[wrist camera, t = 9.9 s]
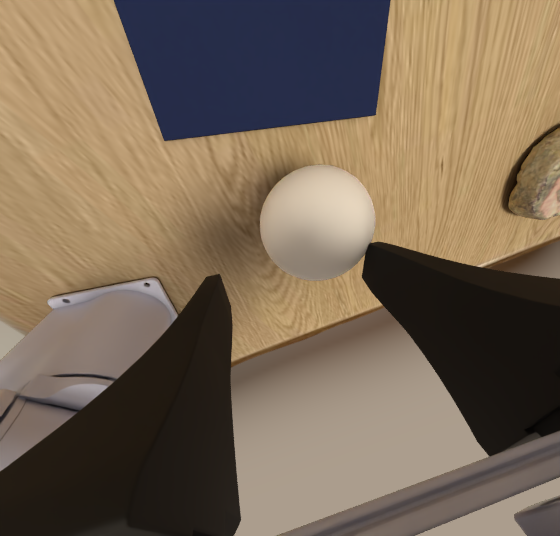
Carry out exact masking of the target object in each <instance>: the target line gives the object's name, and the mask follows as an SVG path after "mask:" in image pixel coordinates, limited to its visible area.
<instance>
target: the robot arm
mask: <svg viewBox="0 0 560 536" xmlns="http://www.w3.org/2000/svg"><path fill="white" fill-rule="evenodd" d="M362 278H363V280H364V281H365V283H366V284H367V286H368V287H369V289H370V290H371V292H372V293H373V294H374V295H375V297H376V298H377V299H378V300H379V301H380V302H381V303H382V304H383V306H384V307H385V308H386V309H387V310H388V311H389V312H390V313H391V314H392V316H393V317H394V318H395V319H396V320H397V321H398V322H399V323H400V324H401V325H402V326H403V328H404V329H405V330H406V331H407V333H408V334H409V335H410V336H411V338H412V339H413V340H414V342H415V343H416V344H417V346H418V347H419V349H420V350H421V351H422V353H423V354H424V355H425V357H426V358H427V360H428V361H429V363H430V364H431V365H432V367H433V369H434V370H435V372H436V373H437V374H438V376H439V377H440V379H441V381H442V382H443V384H444V385H445V387H446V389H447V390H448V392H449V393H450V395H451V396H452V398H453V400H454V401H455V403H456V405H457V407H458V408H459V410H460V411H461V413H462V415H463V417H464V418H465V420H466V422H467V424H468V425H469V427H470V429H471V431H472V432H473V435H474V436H475V438H476V440H477V442H478V443H479V444H480V445H481V447H482V448H483V449H484V450H485V452H486V453H487V454H488V455H489V456H490V457H488V458H485V459H482V460H479V461H477V462H474V463H471V464H469V465H466V466H463V467H461V468H458V469H455V470H452V471H450V472H447V473H444V474H442V475H439V476H437V477H434V478H431V479H428V480H426V481H423V482H420V483H417V484H415V485H412V486H409V487H407V488H404V489H401V490H398V491H396V492H393V493H391V494H388V495H385V496H382V497H380V498H377V499H374V500H372V501H369V502H366V503H363V504H361V505H358V506H355V507H353V508H350V509H347V510H345V511H342V512H339V513H336V514H334V515H331V516H328V517H326V518H323V519H320V520H318V521H315V522H312V523H309V524H307V525H304V526H301V527H299V528H296V529H293V530H291V531H288V532H285V533H282V534H280V535H277V536H415V535H417V534H420V533H422V532H425V531H427V530H430V529H432V528H435V527H437V526H440V525H442V524H445V523H447V522H450V521H452V520H455V519H457V518H460V517H462V516H465V515H467V514H469V513H472V512H474V511H477V510H479V509H482V508H484V507H487V506H489V505H492V504H494V503H497V502H499V501H501V500H504V499H507V498H509V497H511V496H514V495H516V494H519V493H521V492H524V491H526V490H529V489H531V488H534V487H536V486H539V485H541V484H544V483H546V482H549V481H551V480H553V479H556V478H559V477H560V279H556V278H547V277H539V276H531V275H524V274H517V273H510V272H504V271H498V270H492V269H487V268H482V267H476V266H471V265H467V264H462V263H458V262H454V261H450V260H446V259H442V258H438V257H434V256H430V255H427V254H423V253H420V252H416V251H413V250H409V249H406V248H403V247H399V246H395V245H392V244H388V243H383V242H374V243H369V245H368V248H367V250H366V253H365V260H364V267H363V273H362ZM146 283H149V284H150V285H147V284H146ZM67 299H68V300H67ZM47 303H48V305H49V306H51V307H52V308H53V310H52V311H51V312H50V313H49V314H48V315H47V316H46V317H45V318H44V319H43V320H42V321H41V322H40V323H39V324H37V325H36V326H35V327H34V328H33V329H32V330H31V331H30V332H29V333H28V334H27V335H26V336H25V337H24V338H23V339H22V340H21V341H20V342H19V343H18V344H17V345H16V346H15V347H14V348H13V349H12V350H11V351H9V353H7V354H6V355H5V356H4V357H3V358H2V359H1V360H0V536H233V535H234V534H235V532H236V530H237V528H238V526H239V523H240V521H241V516H240V506H239V495H238V484H237V473H236V461H235V448H234V437H233V436H234V435H233V420H232V404H231V386H230V385H231V384H230V372H231V350H232V313H231V305H230V302H229V299H228V296H227V293H226V290H225V287H224V284H223V282H222V279H221V276H220V274H218V275H213V276H208V277H206V278H205V280H204V281H203V282H202V284H201V285H200V287H199V288H198V290H197V291H196V292H195V294H194V295H193V297H192V298H191V300H190V301H189V302H188V304H187V305H186V306H185V308H184V309H183V310H182V312H181V313H180V314H179V315H178V314H177V312H176V311H175V309H174V307H173V305H172V303H171V302H170V300H169V298H168V296H167V294H166V293H165V291H164V289H163V287H162V285H161V284H160V282H159V280H158V279H156V278H147V279H142V280H137V281H131V282H126V283H121V284H116V285H111V286H106V287H101V288H96V289H91V290H86V291H81V292H75V293H70V294H65V295H60V296H55V297H51V298H50V299H49V300H48V301H47ZM514 518H515V521H516V522H517V523H518V524H519V526H520V527H521V528H522V530H523V531H524V533H525V534H526V535H527V536H560V496H557V497H554V498H551V499H548V500H545V501H542V502H539V503H536V504H534V505H531V506H529V507H527V508H525V509H523V510H521V511H519V512H517V513H516V514H514Z"/></svg>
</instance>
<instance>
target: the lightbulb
mask: <svg viewBox="0 0 560 536" xmlns="http://www.w3.org/2000/svg"><path fill="white" fill-rule="evenodd" d="M374 229H375V211H374V207H373V203H372V200H371V197H370V196H369V194H368V192H367V190H366V189H365V187H364V186H363V184H362V183H361V182H360V181H359V180H358V179H357V178H356V177H355V176H353V175H352V174H350V173H348V172H347V171H345V170H343V169H341V168H338V167H335V166H332V165H321V164H318V165H311V166H306V167H303V168H300V169H297V170H295V171H293V172H291V173H289V174H288V175H286V176H285V177H283V178H282V179H281V180H280V181H279V182H278V183H277V184H276V185H275V186H274V187H273V189H272V190H271V192H270V193H269V194H268V196H267V198H266V200H265V202H264V204H263V207H262V211H261V215H260V233H261V239H262V242H263V245H264V247H265V249H266V251H267V253H268V255H269V256H270V258H271V259H272V261H273V262H274V263H275V264H276V265H277V266H278V267H279V268H281V269H282V270H283V271H284V272H286V273H288V274H289V275H292V276H294V277H297V278H300V279H304V280H310V281H320V280H327V279H331V278H335V277H337V276H340V275H342V274H344V273H345V272H347V271H349V270H350V269H351V268H353V267H354V266H355V265H356V264H357V263H358V262H359V261H360V259H361V258H362V257H363V256H364V255H365V253H366V250H367V248H368V245H369V243H371V241H372V238H373V234H374Z"/></svg>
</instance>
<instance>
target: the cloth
mask: <svg viewBox="0 0 560 536" xmlns="http://www.w3.org/2000/svg"><path fill="white" fill-rule="evenodd" d="M114 2H115V5H116V8H117V11H118V13H119V16H120V19H121V22H122V25H123V27H124V30H125V33H126V36H127V38H128V41H129V44H130V47H131V50H132V52H133V55H134V58H135V61H136V63H137V66H138V69H139V72H140V75H141V77H142V80H143V83H144V86H145V88H146V91H147V94H148V97H149V100H150V102H151V105H152V108H153V111H154V113H155V116H156V119H157V122H158V125H159V127H160V130H161V133H162V136H163V138H164V141H168V140H176V139H185V138H193V137H201V136H209V135H217V134H226V133H234V132H242V131H250V130H258V129H267V128H275V127H283V126H291V125H299V124H308V123H316V122H324V121H332V120H340V119H349V118H357V117H365V116H373V115H376V108H377V100H378V93H379V85H380V77H381V69H382V62H383V54H384V46H385V38H386V31H387V23H388V15H389V7H390V0H114Z"/></svg>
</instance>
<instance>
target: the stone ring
mask: <svg viewBox="0 0 560 536" xmlns="http://www.w3.org/2000/svg"><path fill="white" fill-rule="evenodd" d="M516 181H517V182H518V183H517V185H516V186H515V188H514V189H513V191H512V192H511V195H510V198H509V204H508V206H509V209H510V210H511V211H512V212H513V213H515V214H516V215H518V216H522V217H527V218H532V219H539V220H545V219H548V218H551V217H554V216H558V215H560V127H559V128H558V129H556V130H555V131H553V132H552V133H550V134H549V135H547V136H546V137H544V139H543V140H542V141H541V142H540V143H539V144H537V145H536V146H535V147H533V148H532V150H531V152H530V154H529V155H528V157H527V158H526V159H525V161H524V162H523V164H522V165H521V170H520V171H519V173H518V174H517V180H516Z"/></svg>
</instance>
